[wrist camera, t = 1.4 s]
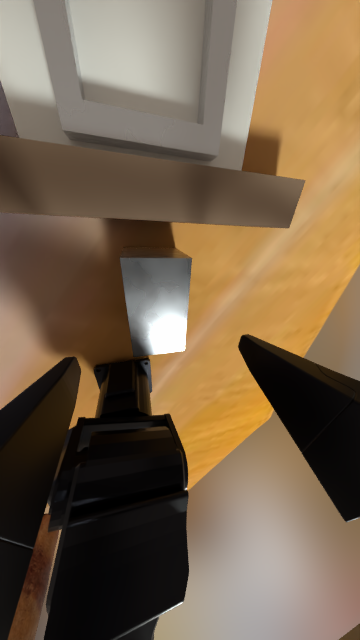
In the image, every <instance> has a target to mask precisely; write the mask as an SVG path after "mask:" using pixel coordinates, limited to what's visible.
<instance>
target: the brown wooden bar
mask: <svg viewBox="0 0 360 640" xmlns="http://www.w3.org/2000/svg"><path fill="white" fill-rule="evenodd" d="M304 183H305V180H300V179H293V178H287V177H280V176H273V175H266V174H260V173H253V172H246V171H239V170H233V169H226V168H219V167H212V166H206V165H199V164H192V163H185V162H179V161H172V160H165V159H158V158H152V157H145V156H138V155H131V154H125V153H118V152H111V151H104V150H97V149H91V148H84V147H77V146H70V145H64V144H57V143H50V142H43V141H37V140H30V139H23V138H16V137H10V136H3V135H0V212H1V213H19V214H37V215H55V216H73V217H90V218H108V219H126V220H144V221H162V222H179V223H197V224H215V225H233V226H251V227H270V228H289V227H290V224H291V221H292V218H293V215H294V212H295V209H296V206H297V204H298V201H299V198H300V195H301V192H302V189H303V186H304Z"/></svg>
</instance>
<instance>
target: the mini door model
mask: <svg viewBox="0 0 360 640" xmlns="http://www.w3.org/2000/svg"><path fill="white" fill-rule="evenodd" d="M271 5H272V0H0V81H1V84H2V87H3V90H4V93H5V96H6V99H7V102H8V105H9V108H10V111H11V114H12V118H13V121H14V124H15V127H16V130H17V133H18V136H19V138H23V139H30V140H37V141H43V142H50V143H57V144H64V145H70V146H77V147H84V148H91V149H97V150H104V151H111V152H118V153H125V154H131V155H138V156H145V157H152V158H158V159H165V160H172V161H179V162H185V163H192V164H199V165H206V166H212V167H219V168H226V169H233V170H239V171H241V170H242V165H243V159H244V154H245V148H246V143H247V137H248V132H249V126H250V121H251V115H252V110H253V104H254V99H255V93H256V88H257V82H258V77H259V71H260V66H261V60H262V55H263V49H264V44H265V38H266V33H267V27H268V22H269V16H270V11H271Z"/></svg>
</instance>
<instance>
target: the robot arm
mask: <svg viewBox="0 0 360 640" xmlns="http://www.w3.org/2000/svg"><path fill="white" fill-rule="evenodd" d="M238 348H239V351H240V353H241V355H242V357H243V359H244V361H245V363H246V365H247V367H248V368H249V370H250V372H251V374H252V375H253V377H254V378H255V380H256V382H257V383H258V385H259V386H260V388H261V390H262V391H263V393H264V394H265V396H266V397H267V399H268V401H269V402H270V404H271V405H272V407H273V408H274V410H275V412H276V413H277V415H278V416H279V418H280V420H281V421H282V423H283V424H284V426H285V427H286V429H287V430H288V432H289V434H290V435H291V437H292V438H293V440H294V442H295V443H296V445H297V446H298V448H299V450H300V451H301V452H302V454H303V456H304V458H305V459H306V461H307V462H308V464H309V466H310V467H311V469H312V470H313V472H314V473H315V475H316V476H317V478H318V480H319V481H320V483H321V485H322V486H323V488H324V489H325V491H326V492H327V494H328V496H329V497H330V499H331V500H332V502H333V503H334V505H335V507H336V508H337V510H338V511H339V513H340V514H341V516H342V517H343V519H344V520H345V521H346V522H349V521H352V520H354V519H357V518H360V381H358V380H355V379H353V378H350V377H347V376H345V375H343V374H340V373H338V372H335V371H332V370H330V369H328V368H325V367H323V366H321V365H319V364H316V363H314V362H312V361H309V360H307V359H305V358H302V357H300V356H298V355H295V354H293V353H291V352H288V351H286V350H284V349H281V348H279V347H277V346H275V345H272V344H270V343H268V342H265V341H263V340H261V339H258V338H256V337H254V336H251V335H249V334H247V335H242V336H241V338H240V342H239V345H238ZM145 362H147V363H145ZM98 369H100V370H98ZM94 374H95V377H96V380H97V383H98V386H99V389H100V394H99V399H98V405H97V410H96V415H95V418H85V417H79V418H78V421H77V425H76V426H75V427H73V428H71V429H69V426H70V422H71V419H72V415H73V412H74V408H75V404H76V399H77V393H78V387H79V381H80V375H81V368H80V366H79V363H78V360H77V358H76V357H74V356H73V357H66V358H64V359H63V360H61V361H60V362H59V363H58V364H57V365H55V366H54V367H53V368H52V369H50V370H49V371H48V372H47V373H45V374H44V375H43V376H42V377H40V378H39V379H38V380H37V381H36V382H34V383H33V384H32V385H31V386H29V387H28V388H27V389H26V390H24V391H23V392H22V393H21V394H19V395H18V396H17V397H16V398H14V399H13V400H12V401H11V402H10V403H8V404H7V405H6V406H5V407H3V408H2V409H1V410H0V640H8V637H9V633H10V630H11V626H12V623H13V619H14V616H15V612H16V609H17V606H18V602H19V599H20V595H21V592H22V588H23V585H24V581H25V578H26V574H27V571H28V568H29V564H30V561H31V557H32V554H33V548H34V546H35V543H36V539H37V536H38V532H39V529H40V526H41V522H42V519H43V515H44V512H45V508H46V505H47V503H48V504H49V506H50V508H49V513H48V516H49V515H51V516H50V521H49V526H48V533H49V532H53V531H56V530H61V529H62V531H61V535H60V540H59V545H58V549H57V554H56V558H55V563H54V568H53V572H52V577H51V581H50V586H49V591H48V595H47V601H46V608H47V613H48V621H47V626H46V631H45V636H44V640H154V630H155V627H156V625H157V621H158V619H159V616H160V615H162V614H164V613H166V612H168V611H169V610H171V609H173V608H175V607H177V606H179V605H180V604H182V603H183V601H184V597H185V592H186V587H187V581H188V576H189V565H188V564H189V563H188V549H187V532H186V517H187V504H188V491H187V485H188V466H187V459H186V455H185V451H184V448H183V446H182V443H181V441H180V438H179V436H178V433H177V431H176V428H175V426H174V423H173V421H172V418H171V416H170V414H164V415H152V411H151V401H150V393H151V392H152V382H151V367H150V360H149V359H148V358H144V359H137V360H130V361H123V362H116V363H109V364H102V365H96V366H95V367H94ZM68 429H69V430H68ZM339 640H360V624H358V625H357V626H356V627H355V628H353V629H352V630H351V631H349V632H348V633H347V634H345V635H344V636H343V637H341V638H340V639H339Z"/></svg>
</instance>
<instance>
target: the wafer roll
mask: <svg viewBox="0 0 360 640" xmlns="http://www.w3.org/2000/svg"><path fill="white" fill-rule="evenodd" d="M50 516H51V515H49V516H48V514H44V515H43V519H42V522H41V526H40V529H39V532H38V536H37V539H36V543H35V546H34V548H33V554H32V557H31V561H30V564H29V568H28V571H27V574H26V578H25V581H24V585H23V588H22V592H21V595H20V599H19V602H18V606H17V609H16V612H15V616H14V619H13V623H12V626H11V630H10V633H9V637H8V640H34V639H35V635H36V631H37V627H38V623H39V619H40V615H41V610H42V606H43V602H44V598H45V594H46V590H47V585H48V580H49V574H50V570H51V566H52V561H53V556H54V551H55V547H56V543H57V539H58V533H59V530H56V531H53V532H49V533H48V526H49V521H50Z"/></svg>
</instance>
